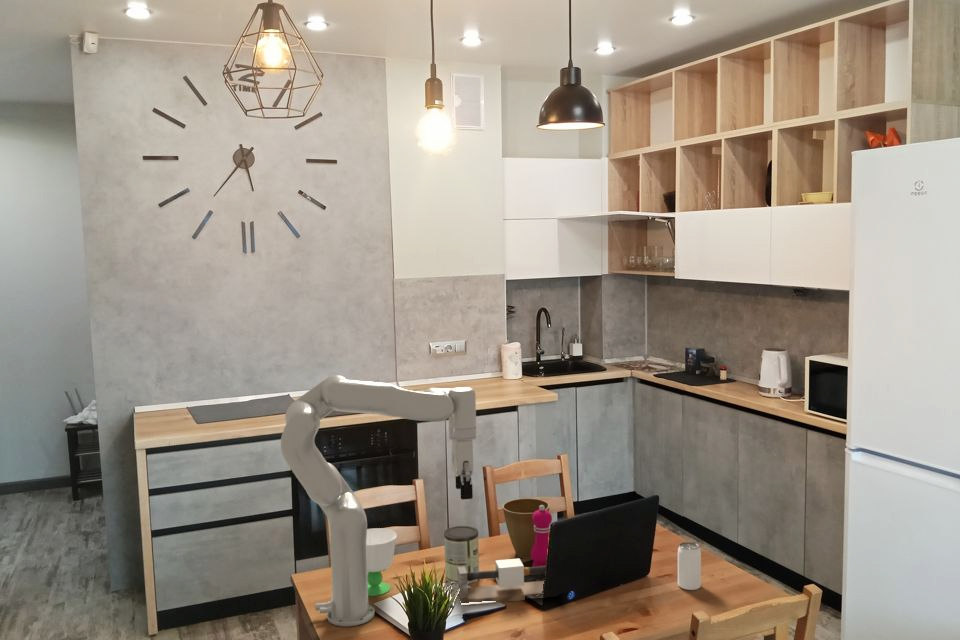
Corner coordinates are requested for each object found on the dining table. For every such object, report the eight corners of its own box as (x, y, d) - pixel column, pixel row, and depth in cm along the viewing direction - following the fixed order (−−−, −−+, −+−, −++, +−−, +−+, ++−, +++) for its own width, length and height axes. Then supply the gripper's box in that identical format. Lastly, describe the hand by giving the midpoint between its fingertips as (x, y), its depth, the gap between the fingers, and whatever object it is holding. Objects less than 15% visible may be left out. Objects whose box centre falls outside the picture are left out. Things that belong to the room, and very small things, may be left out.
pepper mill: (534, 574, 240) (533, 509, 239) (528, 565, 247) (527, 502, 246) (557, 572, 242) (556, 507, 240) (550, 563, 249) (550, 500, 247)
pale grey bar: (461, 605, 220) (460, 576, 220) (457, 593, 228) (456, 564, 227) (560, 596, 225) (559, 567, 224) (552, 585, 233) (552, 556, 232)
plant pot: (528, 541, 267) (527, 495, 266) (559, 554, 256) (559, 505, 255) (494, 553, 258) (493, 504, 257) (525, 566, 247) (524, 516, 245)
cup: (390, 601, 224) (388, 546, 223) (344, 597, 227) (342, 543, 226) (404, 581, 238) (403, 529, 236) (360, 578, 240) (358, 527, 239)
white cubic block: (499, 587, 223) (499, 568, 222) (495, 579, 228) (495, 560, 228) (524, 585, 224) (523, 565, 224) (519, 577, 230) (519, 558, 229)
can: (686, 592, 226) (686, 551, 225) (673, 583, 232) (673, 543, 231) (705, 588, 228) (705, 547, 227) (691, 579, 234) (691, 540, 233)
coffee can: (447, 570, 245) (446, 525, 244) (481, 571, 244) (480, 525, 243) (442, 584, 235) (441, 537, 234) (477, 585, 234) (476, 538, 233)
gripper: (445, 426, 228) (446, 485, 230) (453, 440, 211) (454, 504, 213) (471, 425, 229) (472, 483, 231) (481, 439, 212) (482, 502, 214)
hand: (464, 493), depth 222 cm, fingers open, 9 cm apart
